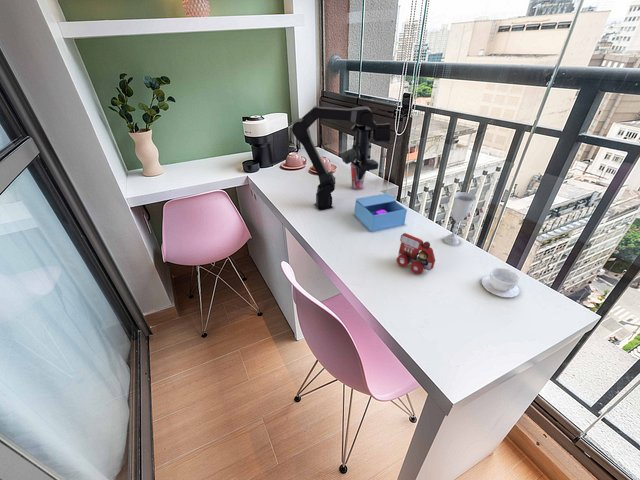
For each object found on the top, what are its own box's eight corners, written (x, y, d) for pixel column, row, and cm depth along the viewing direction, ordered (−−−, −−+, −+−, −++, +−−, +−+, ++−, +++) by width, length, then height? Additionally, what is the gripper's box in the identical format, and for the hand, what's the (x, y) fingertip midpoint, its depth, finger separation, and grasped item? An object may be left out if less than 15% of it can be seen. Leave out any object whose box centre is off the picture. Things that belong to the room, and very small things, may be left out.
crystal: (385, 223, 124) (387, 213, 122) (372, 222, 126) (373, 212, 123) (386, 217, 128) (388, 207, 126) (373, 216, 130) (374, 206, 127)
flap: (355, 199, 128) (355, 198, 127) (387, 193, 131) (387, 193, 131) (364, 206, 122) (364, 206, 122) (396, 200, 126) (396, 200, 125)
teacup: (502, 302, 87) (508, 290, 84) (473, 282, 95) (478, 270, 92) (526, 292, 90) (532, 280, 87) (497, 273, 98) (502, 261, 95)
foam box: (354, 215, 132) (355, 200, 128) (384, 209, 136) (387, 194, 132) (371, 231, 120) (373, 216, 116) (404, 225, 124) (407, 209, 120)
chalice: (446, 234, 118) (459, 190, 107) (464, 240, 114) (479, 195, 103) (438, 241, 113) (450, 196, 103) (456, 248, 109) (470, 202, 99)
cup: (365, 191, 152) (367, 167, 145) (348, 190, 153) (349, 167, 146) (365, 184, 159) (368, 161, 152) (349, 183, 161) (351, 160, 154)
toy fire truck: (425, 278, 96) (432, 252, 90) (391, 262, 104) (396, 236, 98) (435, 269, 100) (443, 242, 94) (402, 254, 108) (407, 228, 102)
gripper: (334, 138, 127) (333, 174, 136) (354, 151, 112) (351, 190, 121) (358, 135, 129) (356, 171, 139) (381, 147, 115) (376, 186, 124)
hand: (359, 179), depth 131 cm, fingers closed
